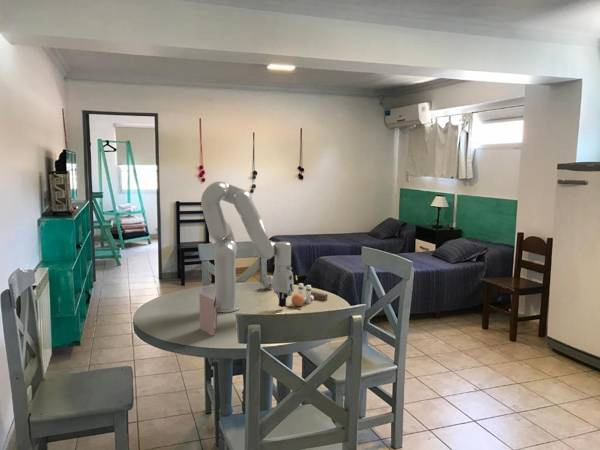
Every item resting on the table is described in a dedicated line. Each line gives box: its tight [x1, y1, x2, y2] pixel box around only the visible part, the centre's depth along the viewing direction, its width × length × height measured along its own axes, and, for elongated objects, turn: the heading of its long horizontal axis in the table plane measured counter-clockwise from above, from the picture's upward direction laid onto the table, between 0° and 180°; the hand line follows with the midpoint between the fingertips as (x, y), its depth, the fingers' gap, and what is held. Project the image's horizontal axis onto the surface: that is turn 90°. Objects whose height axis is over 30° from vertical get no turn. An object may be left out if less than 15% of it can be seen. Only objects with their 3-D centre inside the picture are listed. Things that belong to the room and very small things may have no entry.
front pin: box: [303, 295, 314, 304], centre depth 241 cm, size 2×2×9 cm
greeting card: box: [198, 293, 218, 336], centre depth 194 cm, size 11×7×15 cm, turn 5°
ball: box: [291, 293, 305, 307], centre depth 233 cm, size 6×6×6 cm
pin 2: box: [305, 284, 312, 305], centre depth 238 cm, size 2×2×9 cm
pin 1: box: [297, 282, 304, 297], centre depth 241 cm, size 2×2×9 cm
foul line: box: [277, 303, 302, 311], centre depth 232 cm, size 1×14×1 cm, turn 50°
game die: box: [261, 273, 274, 290], centre depth 266 cm, size 9×8×10 cm
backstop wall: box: [311, 290, 328, 302], centre depth 248 cm, size 2×12×3 cm, turn 50°
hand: (282, 306), depth 228 cm, fingers closed
